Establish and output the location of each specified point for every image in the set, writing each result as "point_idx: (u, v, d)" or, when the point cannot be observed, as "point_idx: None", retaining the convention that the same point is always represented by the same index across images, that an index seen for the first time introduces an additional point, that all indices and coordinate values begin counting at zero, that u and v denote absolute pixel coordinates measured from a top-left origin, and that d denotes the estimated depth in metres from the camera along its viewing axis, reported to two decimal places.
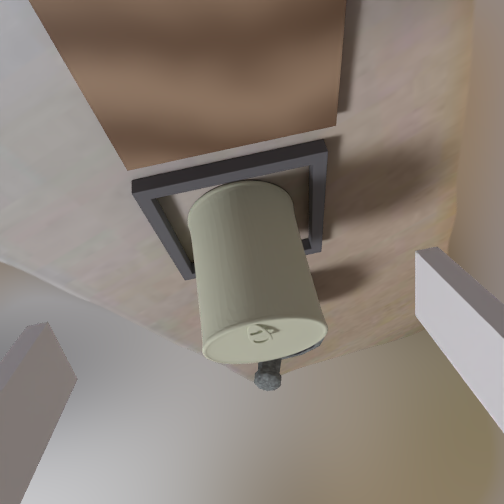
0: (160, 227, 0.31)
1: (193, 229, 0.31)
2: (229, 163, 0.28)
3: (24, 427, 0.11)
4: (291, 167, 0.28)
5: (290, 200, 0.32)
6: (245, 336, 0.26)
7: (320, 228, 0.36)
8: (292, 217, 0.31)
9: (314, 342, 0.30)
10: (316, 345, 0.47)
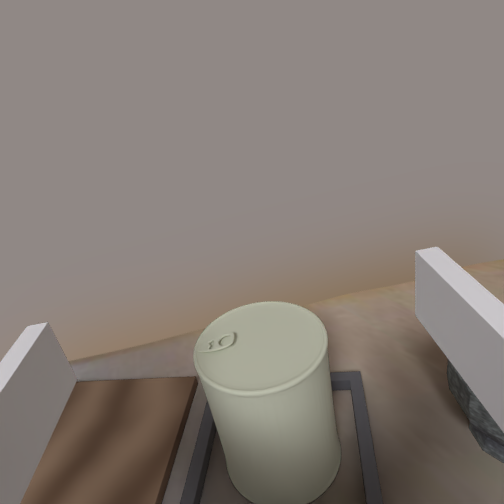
0: None
1: (244, 482, 0.28)
2: None
3: (24, 427, 0.11)
4: None
5: None
6: (226, 355, 0.26)
7: None
8: None
9: (292, 306, 0.29)
10: None
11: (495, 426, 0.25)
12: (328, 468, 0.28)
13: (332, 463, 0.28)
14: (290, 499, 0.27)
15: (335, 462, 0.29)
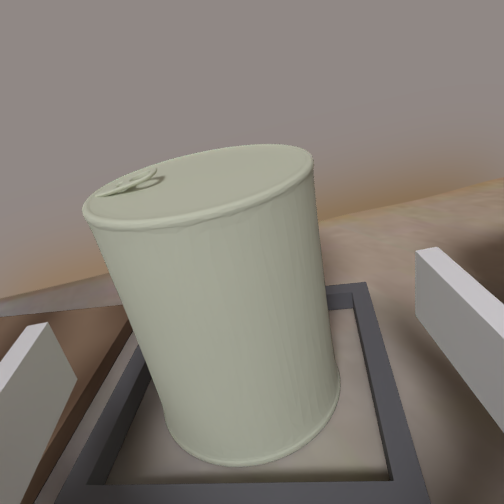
0: (164, 495, 0.15)
1: (181, 422, 0.17)
2: None
3: (24, 427, 0.11)
4: None
5: None
6: (139, 194, 0.15)
7: None
8: None
9: (260, 146, 0.18)
10: None
11: None
12: (319, 398, 0.17)
13: (326, 393, 0.17)
14: (256, 448, 0.16)
15: (330, 392, 0.18)
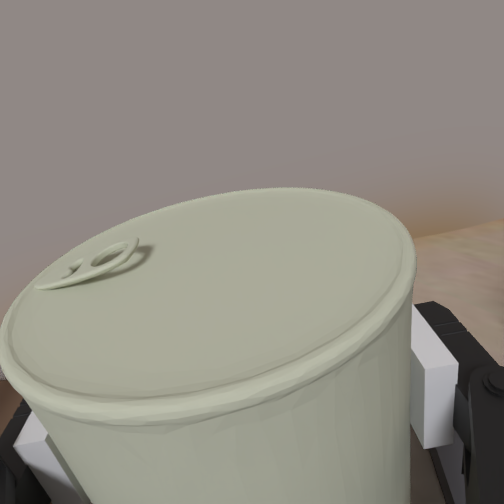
0: None
1: None
2: None
3: None
4: None
5: None
6: (105, 293, 0.09)
7: None
8: None
9: (300, 191, 0.12)
10: None
11: None
12: None
13: None
14: None
15: None
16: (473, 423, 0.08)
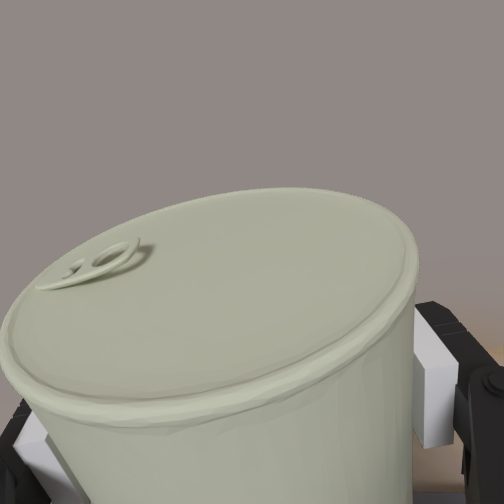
0: None
1: None
2: None
3: None
4: None
5: None
6: (106, 293, 0.09)
7: None
8: None
9: (302, 191, 0.12)
10: None
11: None
12: None
13: None
14: None
15: None
16: (473, 423, 0.08)
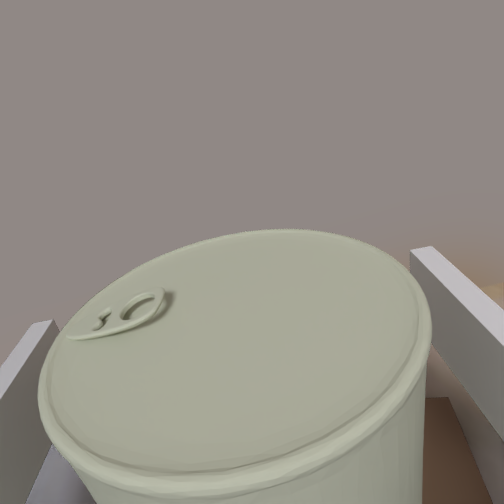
0: None
1: None
2: None
3: (31, 423, 0.11)
4: None
5: None
6: (135, 347, 0.09)
7: None
8: None
9: (315, 235, 0.12)
10: None
11: None
12: None
13: None
14: None
15: None
16: None
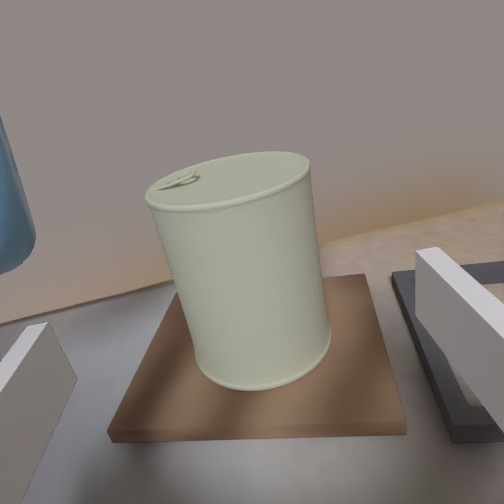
0: None
1: (211, 358, 0.23)
2: (414, 339, 0.25)
3: (24, 427, 0.11)
4: (411, 289, 0.28)
5: None
6: (185, 188, 0.21)
7: None
8: None
9: (271, 153, 0.24)
10: None
11: None
12: (314, 342, 0.23)
13: (320, 338, 0.23)
14: (267, 375, 0.22)
15: (323, 339, 0.24)
16: None
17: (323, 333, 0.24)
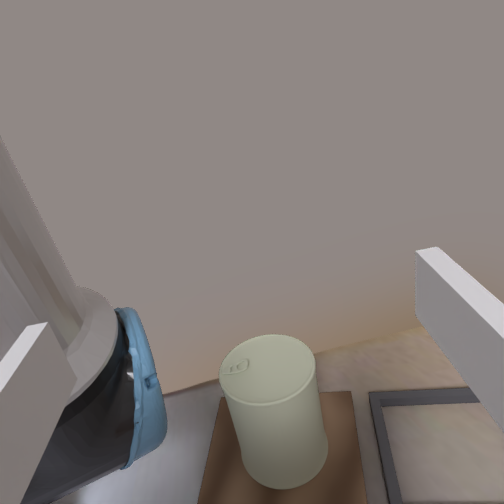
0: None
1: (256, 469, 0.38)
2: (379, 451, 0.40)
3: (24, 427, 0.11)
4: (380, 410, 0.43)
5: None
6: (242, 376, 0.36)
7: (458, 390, 0.44)
8: None
9: (290, 338, 0.39)
10: None
11: None
12: (317, 459, 0.38)
13: (321, 455, 0.38)
14: (289, 481, 0.37)
15: (323, 454, 0.39)
16: None
17: (323, 451, 0.39)
